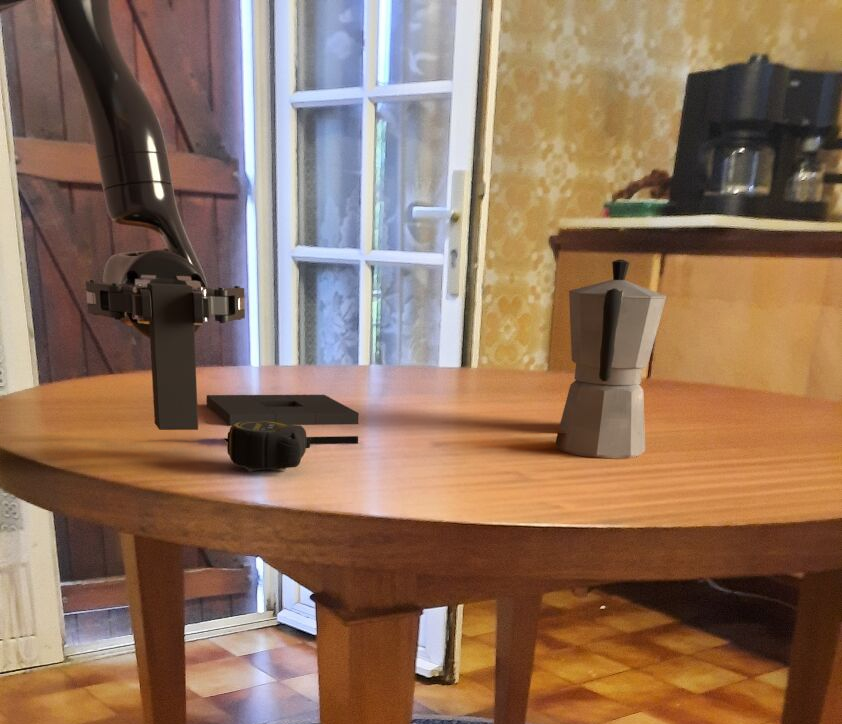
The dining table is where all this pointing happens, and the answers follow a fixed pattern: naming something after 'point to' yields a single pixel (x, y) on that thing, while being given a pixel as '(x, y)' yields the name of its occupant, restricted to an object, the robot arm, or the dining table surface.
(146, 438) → the dining table surface
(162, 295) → the bar
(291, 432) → the tape measure
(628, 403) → the coffeepot
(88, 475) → the dining table surface
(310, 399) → the base pad
